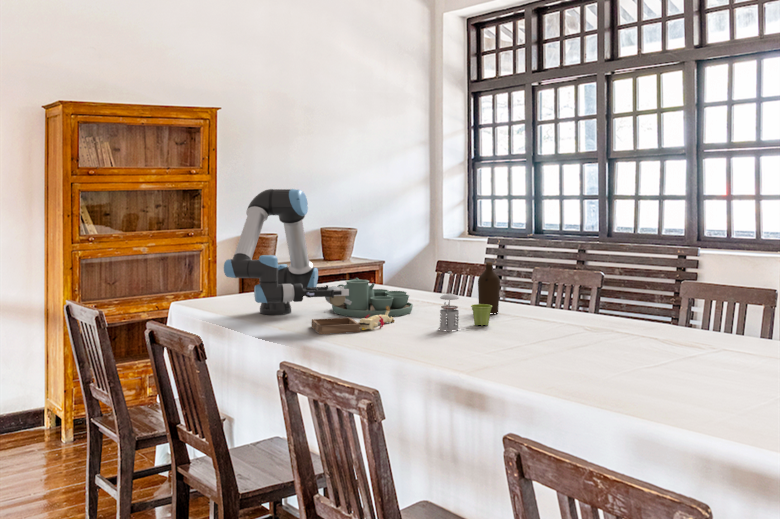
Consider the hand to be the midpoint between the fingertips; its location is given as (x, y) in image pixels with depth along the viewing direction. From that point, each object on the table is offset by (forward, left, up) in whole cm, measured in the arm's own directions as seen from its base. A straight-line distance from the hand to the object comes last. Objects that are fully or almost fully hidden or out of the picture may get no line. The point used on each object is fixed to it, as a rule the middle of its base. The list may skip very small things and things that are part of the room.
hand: (346, 290), depth 291 cm
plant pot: (+8, +59, -17) cm, 62 cm away
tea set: (-42, +24, -17) cm, 51 cm away
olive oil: (-20, +76, -16) cm, 81 cm away
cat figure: (-2, +14, -17) cm, 22 cm away
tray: (0, -5, -16) cm, 17 cm away
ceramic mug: (0, -3, -6) cm, 7 cm away
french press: (+14, +41, -16) cm, 47 cm away
